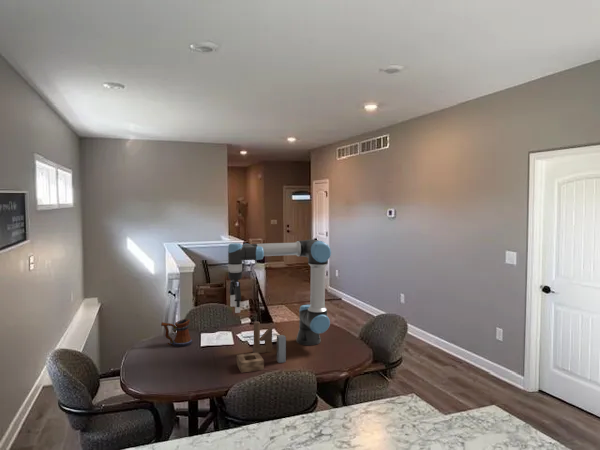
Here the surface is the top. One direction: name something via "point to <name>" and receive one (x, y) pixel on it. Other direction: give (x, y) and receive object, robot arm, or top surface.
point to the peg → (281, 348)
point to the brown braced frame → (262, 339)
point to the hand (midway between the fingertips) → (235, 309)
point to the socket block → (250, 362)
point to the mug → (179, 333)
